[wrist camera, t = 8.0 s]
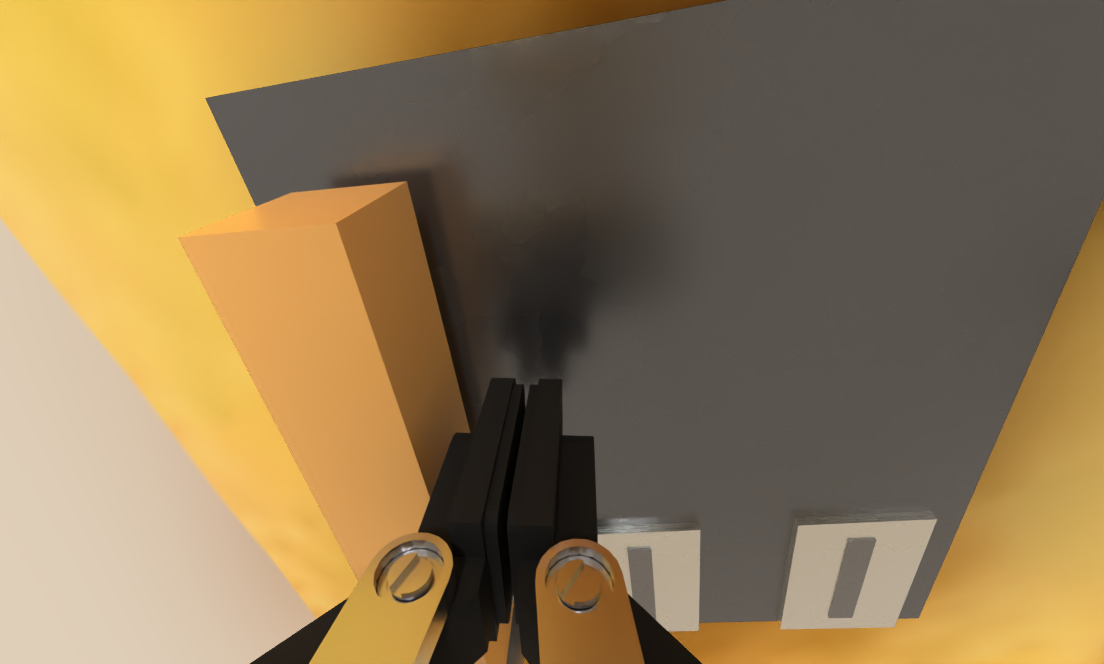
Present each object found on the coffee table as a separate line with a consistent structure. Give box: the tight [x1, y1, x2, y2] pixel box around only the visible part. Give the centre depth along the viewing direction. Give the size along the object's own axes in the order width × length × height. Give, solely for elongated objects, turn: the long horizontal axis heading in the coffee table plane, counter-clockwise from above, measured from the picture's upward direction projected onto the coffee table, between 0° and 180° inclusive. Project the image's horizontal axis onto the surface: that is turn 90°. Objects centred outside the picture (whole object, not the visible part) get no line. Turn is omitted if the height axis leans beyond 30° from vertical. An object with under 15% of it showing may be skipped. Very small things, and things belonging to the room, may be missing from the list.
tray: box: [205, 0, 1104, 631], centre depth 13 cm, size 20×18×2 cm
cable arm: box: [178, 181, 524, 664], centre depth 12 cm, size 18×3×3 cm, turn 6°
